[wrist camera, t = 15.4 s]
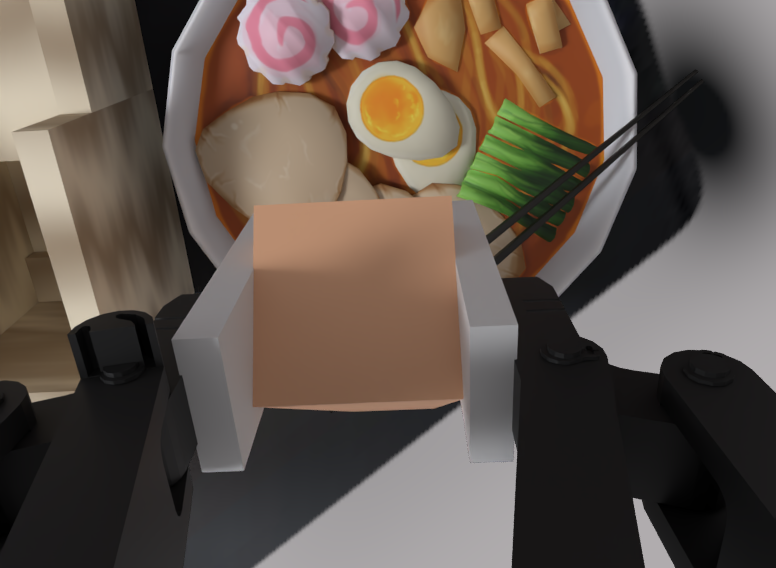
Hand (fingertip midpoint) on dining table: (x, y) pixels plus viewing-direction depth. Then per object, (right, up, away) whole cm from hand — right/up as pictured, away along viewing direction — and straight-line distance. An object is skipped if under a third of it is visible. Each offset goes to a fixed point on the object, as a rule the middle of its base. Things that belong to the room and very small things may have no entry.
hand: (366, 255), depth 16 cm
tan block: (0, -1, +6) cm, 6 cm away
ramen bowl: (+1, +9, +21) cm, 22 cm away
